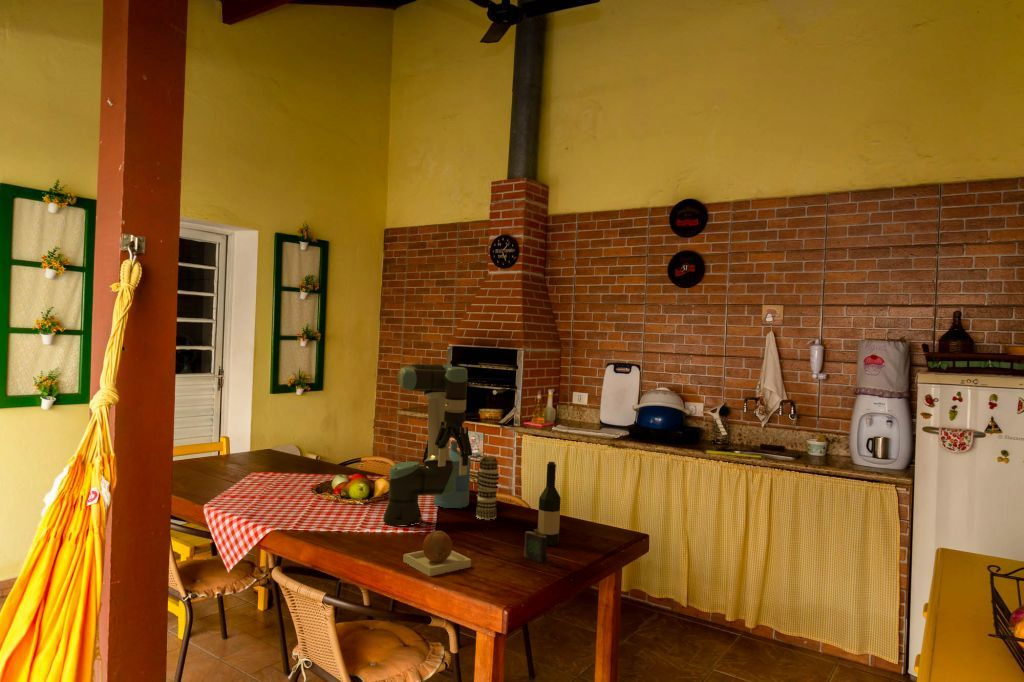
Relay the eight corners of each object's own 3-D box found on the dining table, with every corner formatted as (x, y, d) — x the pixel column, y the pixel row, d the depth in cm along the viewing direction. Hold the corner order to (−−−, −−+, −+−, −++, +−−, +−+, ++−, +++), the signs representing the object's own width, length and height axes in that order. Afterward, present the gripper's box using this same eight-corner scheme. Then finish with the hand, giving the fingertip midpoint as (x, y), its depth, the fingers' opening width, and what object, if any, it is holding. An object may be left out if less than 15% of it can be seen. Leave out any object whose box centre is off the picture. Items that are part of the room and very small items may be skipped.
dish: (403, 561, 227) (403, 554, 227) (443, 553, 238) (443, 546, 238) (429, 576, 215) (429, 568, 215) (470, 566, 225) (471, 559, 225)
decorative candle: (472, 519, 283) (475, 458, 282) (477, 513, 292) (480, 454, 291) (494, 521, 281) (497, 460, 281) (499, 515, 290) (501, 456, 290)
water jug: (432, 500, 310) (435, 438, 310) (466, 500, 313) (469, 439, 313) (434, 509, 295) (437, 444, 295) (471, 509, 298) (473, 444, 297)
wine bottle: (562, 542, 257) (566, 462, 257) (552, 547, 250) (556, 465, 250) (543, 537, 261) (546, 459, 261) (532, 543, 254) (536, 462, 254)
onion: (444, 554, 233) (446, 525, 233) (456, 564, 224) (457, 533, 224) (417, 558, 229) (419, 528, 229) (428, 567, 220) (429, 536, 220)
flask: (522, 557, 238) (524, 526, 237) (528, 555, 240) (529, 525, 240) (542, 564, 231) (544, 532, 231) (548, 562, 234) (550, 531, 233)
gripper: (427, 406, 250) (424, 463, 251) (466, 417, 231) (463, 479, 232) (444, 405, 255) (441, 461, 256) (484, 415, 236) (481, 477, 237)
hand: (452, 470), depth 244 cm, fingers open, 13 cm apart
